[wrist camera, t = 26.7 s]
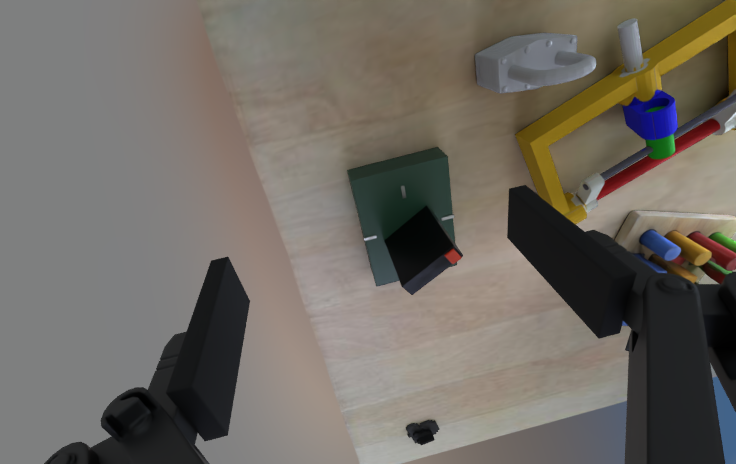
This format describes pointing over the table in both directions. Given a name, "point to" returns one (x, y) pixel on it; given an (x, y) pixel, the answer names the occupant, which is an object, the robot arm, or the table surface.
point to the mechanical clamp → (634, 111)
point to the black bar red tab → (421, 250)
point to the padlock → (531, 62)
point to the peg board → (682, 243)
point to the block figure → (422, 431)
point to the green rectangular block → (399, 201)
